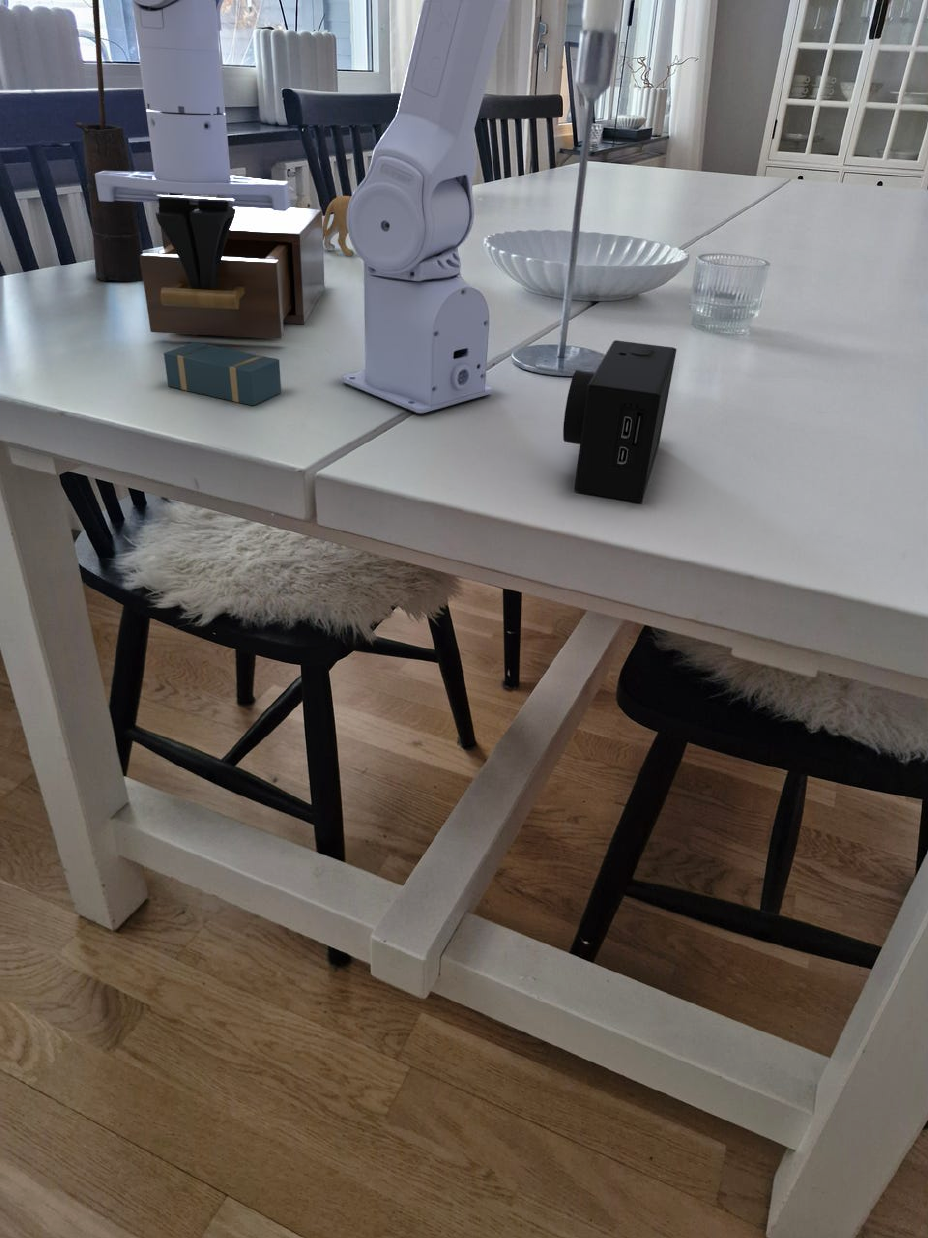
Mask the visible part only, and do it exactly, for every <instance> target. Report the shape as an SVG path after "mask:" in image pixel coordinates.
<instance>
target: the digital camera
mask: <svg viewBox="0 0 928 1238" xmlns="http://www.w3.org/2000/svg"><path fill="white" fill-rule="evenodd" d="M676 355H677V348H675V347H672V346H665V345H664V346H663V345H658V344H657V345H656V344H648V343H640V342H632V341H626V340H625V341H624V340H618V339H615V340H613V341H612V343H611V344H610V346H609V348H608V350H607V351H606V353H605V354H604V356H603V358H602V359H601V361H600V363H599V365H598V366H597V369H596V370H595V372H593V371H587V370H586V371H585V370H580V369H576V370H575V371H574V373H573V375H572V378H571V381H570V384H569V388H568V393H567V396H566V402H565V403H566V404H565V410H564V416H563V425H562V426H563V427H562V431H563V432H562V436H563V437H562V438H563V442H564V443H569V444H570V443H571V444H575V445H576V444H577V445H579V450H578V456H577V457H578V458H577V466H576V473H575V481H574V491H575V492H576V493H581V494H587V495H593V496H598V497H604V498H611V499H617V500H621V501H628V502H635V503H637V504H638V503H639V504H643V501H644V497H645V494H646V490H647V487H648V483H649V480H650V478H651V473H652V470H653V467H654V463H655V461H656V456H657V453H658V450H659V447H660V443H661V436H662V432H663V425H664V420H665V415H666V410H667V403H668V399H669V393H670V389H671V382H672V378H673V377H672V376H673V371H674V367H675V366H674V365H675V361H676V360H675V359H676Z"/></svg>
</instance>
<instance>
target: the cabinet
mask: <svg viewBox="0 0 928 1238" xmlns="http://www.w3.org/2000/svg"><path fill="white" fill-rule="evenodd" d="M233 208H235V209H236V213H235V217H234V220H233V223H232V225H231V228H230V231H229V234H228V237H227V239H236V240H255V241H273V242H292V259H293V277H294V295H295V304H294V305H293V307H292V308H291V310H290V311H289V313H288V314H287V316H286V317H285V319H284V320H283V324H290V325H291V324H292V325H305V323H306V322H307V320H308V318H309V317H310V315H311V313H312V311H313V310H314V308H315V307H316V305H317V303H318V302H319V300H320V298H321V297H322V295H323V293H324V291H325V289H326V288H325V264H324V262H325V259H324V240H323V230H322V227H323V209H320V208H305V207H302V208H301V207H294V208H289V209H288V210H287V211H286V212H284V211H274V210H273V209H259V208H242V207H233ZM160 232H161V240H162V249H164V248H166V247H167V246H169V245H170V244H171V242H170V240H169V239H168V237H167V236H166V234H165V232H164V231H163V229H162V228H161V227H160Z"/></svg>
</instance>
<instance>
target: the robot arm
mask: <svg viewBox="0 0 928 1238" xmlns="http://www.w3.org/2000/svg"><path fill="white" fill-rule="evenodd" d="M224 1H225V0H131V5H132V6H131V7H132V13H133V21H134V29H135V37H136V44H137V52H138V59H139V60H138V61H139V67H140V74H141V83H142V90H143V99H144V107H145V114H146V121H147V128H148V137H149V145H150V151H151V159H152V167H153V171H131V172H118V171H102V172H99V173H96V174H95V179H96V185H97V191H98V197H99V201H108V202H113V201H115V200H118V201H135V203H137V202H138V203H156V204H158V210H157V211H156V212H155V218H156V221H157V223H158V225H159V227H160V229H161V228H162V229H163V231H164V232H165V234H166V236H167V237H168V239H169V240H170V242H171V244H172V246H173V247H174V249H175V251H176V253H177V255H178V257H179V259H180V261H181V263H182V266H183V268H184V270H185V273H186V275H187V278H188V281H189V283H190V286H191V289H203V290H218V278H219V271H220V265H221V260H222V255H223V251H224V247H225V244H226V240H227V237H228V234H229V231H230V228H231V225H232V223H233V220H234V217H235V213H236V209H235V208H233V207H242V208H259V209H273V210H274V211H284V212H286V211H287V210H288V209H289V208H290V190H289V188H290V181H287V180H275V179H274V180H273V179H262V178H254V177H245V176H236V175H232V174H231V161H230V152H229V141H228V140H229V138H228V128H227V127H228V126H227V115H226V106H225V105H226V104H225V92H224V82H223V81H224V80H223V69H222V59H221V58H222V57H221V46H220V36H219V35H220V33H219V32H221V31H222V20H221V9H222V6H223V3H224ZM510 3H511V0H422V3H421V9H420V12H419V16H418V21H417V25H416V30H415V34H414V38H413V43H412V46H411V51H410V55H409V59H408V64H407V69H406V72H405V73H406V74H405V77H404V82H403V86H402V91H401V94H400V99H399V103H398V109H397V112H396V114H395V117H394V118H393V120H392V121H391V122H390V124H389V125H388V127H387V128H386V130H385V131H384V133H382V136H381V137H380V139H379V140H378V142H377V144H376V145H375V147H374V149H373V153H372V156H371V161H370V166H369V168H368V170H367V173H366V175H365V177H364V178H363V179H362V181H361V182H360V183H359V185H358V186H357V187H356V188H355V189H354V191H353V193H352V194H351V196H350V197H351V199H350V201H349V204H348V209H347V219H346V220H347V230H348V234H347V235H348V238H349V240H350V244H351V246H352V247H353V249H354V251H355V253H356V254H357V255H358V257H359V258H360V259H361V260H362V261H363V299H364V300H363V302H364V303H363V305H364V308H363V310H364V311H363V312H364V315H363V316H364V370H360V371H357V372H356V371H355V372H351V373H348V374H344V375H343V376H341V378H342V379H341V381H342V383H344V384H347V385H349V386H351V387H354V388H356V389H359V390H361V391H363V392H366V393H368V394H371V395H373V396H375V397H378V398H380V399H382V400H385V401H388V402H390V403H392V404H395V405H396V406H399V407H402V408H404V409H406V410H409V411H411V412H413V413H416V414H426V413H429V412H433V411H437V410H439V409H444V408H446V407H450V406H453V405H457V404H460V403H463V402H467V401H468V402H469V401H471V400H475V399H478V398H481V397H484V396H488V395H492V394H493V387H491V386H489V385H487V384H486V381H487V380H486V379H487V367H488V366H487V365H488V349H489V336H490V335H489V333H490V309H489V306H488V302H487V300H486V297H485V296H484V294H483V293H482V292H481V291H480V290H479V289H477V288H476V287H474V286H471V285H470V284H468V283H467V282H466V281H465V279H464V278H463V275H462V274H461V271H462V270H461V269H462V268H461V267H462V262H461V257H460V254H459V248H460V247H461V245H463V244H464V242H465V241H466V240H467V239H468V237H469V235H470V233H471V231H472V228H473V224H474V220H475V204H474V196H473V184H474V178H475V174H476V171H477V167H478V157H477V153H476V149H475V145H474V141H473V135H474V132H475V129H476V128H475V127H476V124H477V120H478V117H479V113H480V110H481V106H482V103H483V99H484V95H485V93H486V88H487V85H488V81H489V79H490V74H491V70H492V67H493V63H494V60H495V57H496V53H497V50H498V46H499V42H500V39H501V35H502V31H503V28H504V25H505V22H506V17H507V14H508V10H509V7H510ZM169 194H170V195H169ZM171 194H178V195H171ZM187 195H192V196H187ZM193 195H196V196H193ZM197 195H199V196H197ZM200 195H202V196H200ZM205 195H208V196H210V195H211V196H216V197H204V196H205Z"/></svg>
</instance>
